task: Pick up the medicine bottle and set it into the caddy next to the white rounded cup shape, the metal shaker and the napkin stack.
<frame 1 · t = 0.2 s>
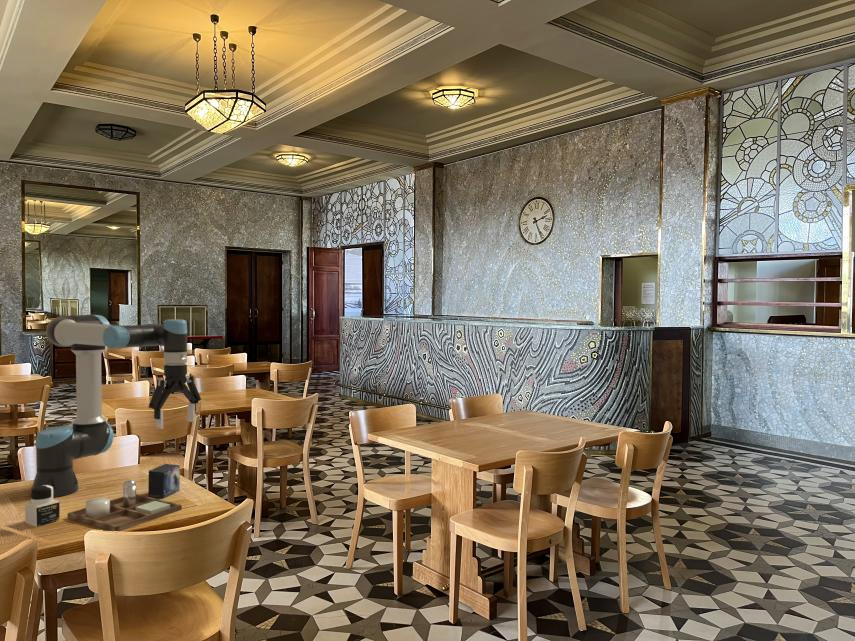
hand: (175, 425, 228), 28 cm above the table, fingers open, 13 cm apart
napkin stack: (153, 511, 219), point 1 cm above the table, touching caddy
metal shaker: (129, 505, 225), point 1 cm above the table, touching caddy
medicine bottle: (42, 524, 208), on the table
caddy: (125, 516, 217), on the table
white rounded cup shape: (97, 515, 214), point 1 cm above the table, touching caddy
small box: (164, 496, 238), on the table
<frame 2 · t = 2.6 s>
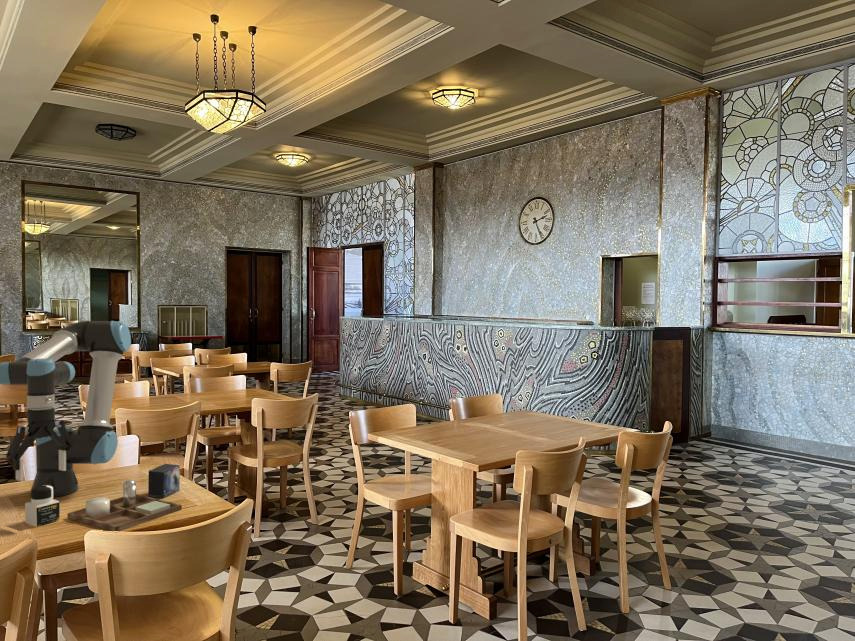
hand: (41, 475, 208), 16 cm above the table, fingers open, 13 cm apart
nothing on the table moved.
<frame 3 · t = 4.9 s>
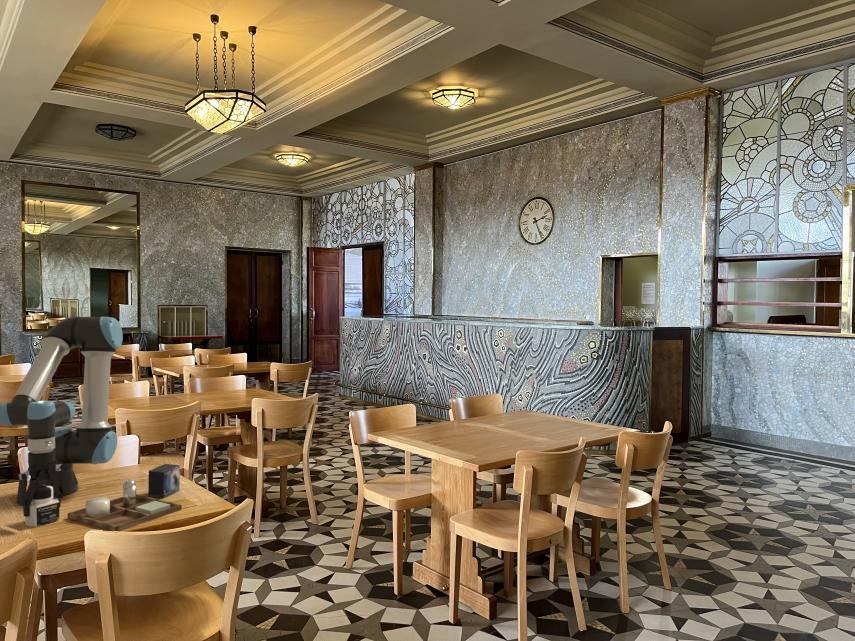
hand: (42, 522, 208), 1 cm above the table, fingers closed on medicine bottle, 7 cm apart
medicine bottle: (42, 524, 208), on the table, touching gripper
everything else where it was.
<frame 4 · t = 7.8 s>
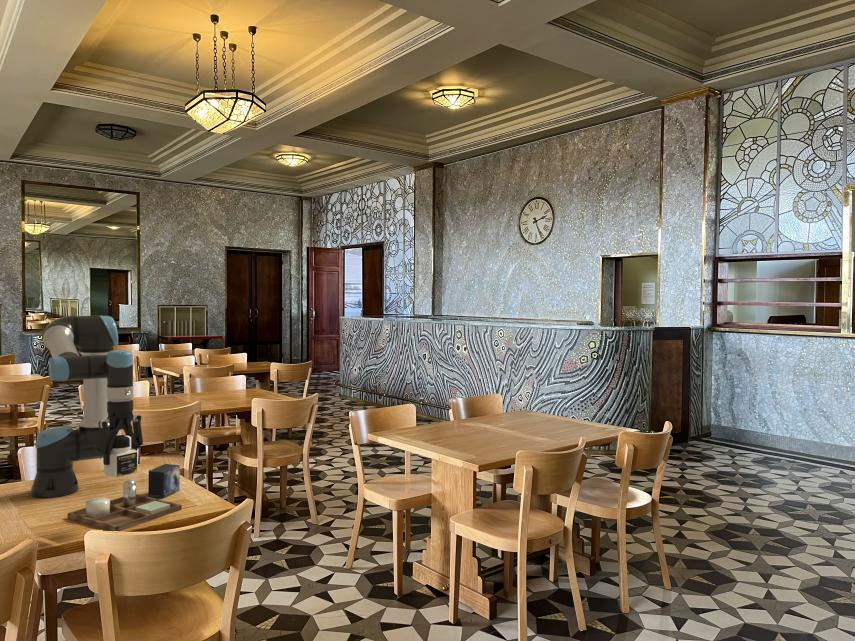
hand: (120, 471, 208), 17 cm above the table, fingers closed on medicine bottle, 7 cm apart
medicine bottle: (120, 474, 208), point 16 cm above the table, touching gripper
everything else where it was.
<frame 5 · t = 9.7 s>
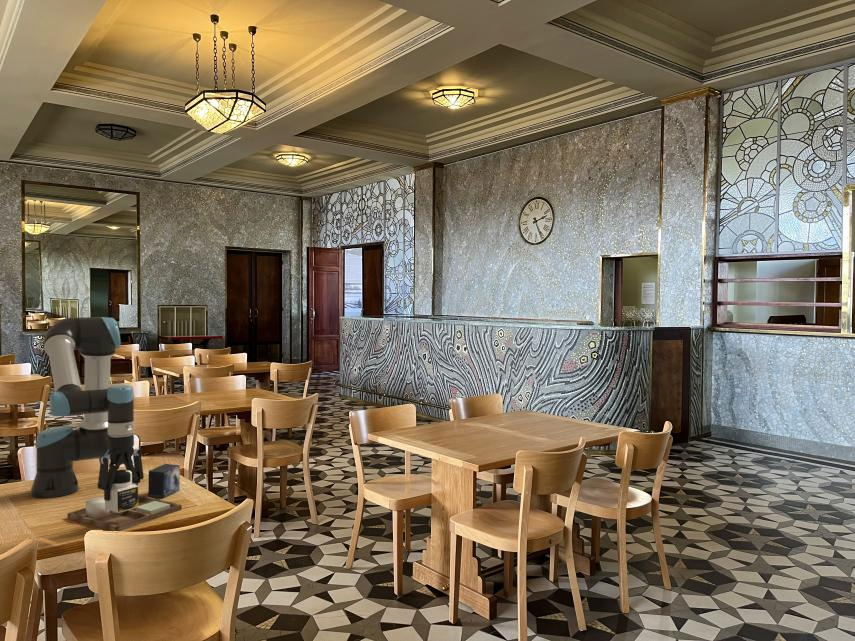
hand: (121, 506, 208), 6 cm above the table, fingers closed on medicine bottle, 7 cm apart
medicine bottle: (121, 509, 208), point 5 cm above the table, touching gripper
everything else where it was.
when the fingers open (3 cm above the table, at t = 11.1 s): medicine bottle drops 2 cm, resting on caddy.
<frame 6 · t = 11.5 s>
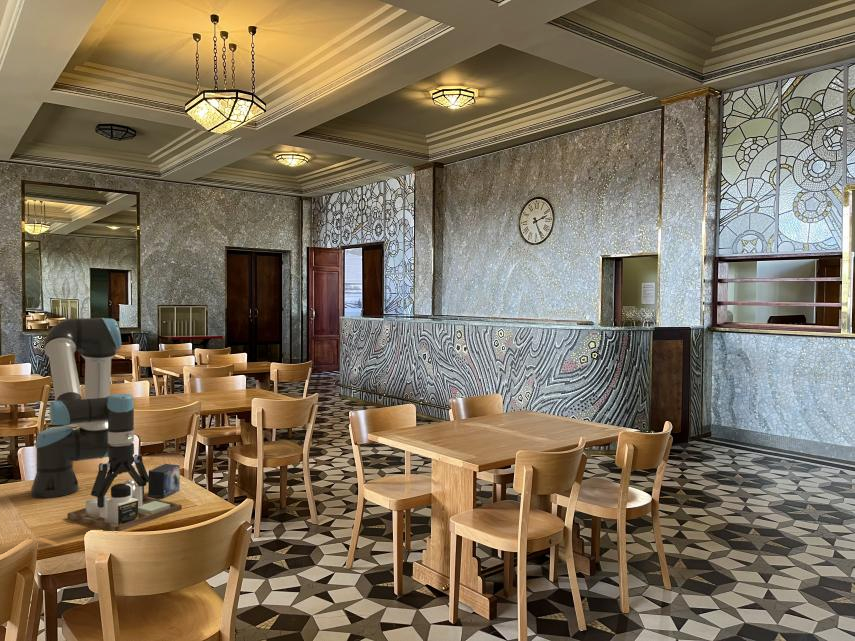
hand: (121, 511, 208), 4 cm above the table, fingers open, 12 cm apart
medicine bottle: (121, 522, 209), point 1 cm above the table, touching caddy
everything else where it was.
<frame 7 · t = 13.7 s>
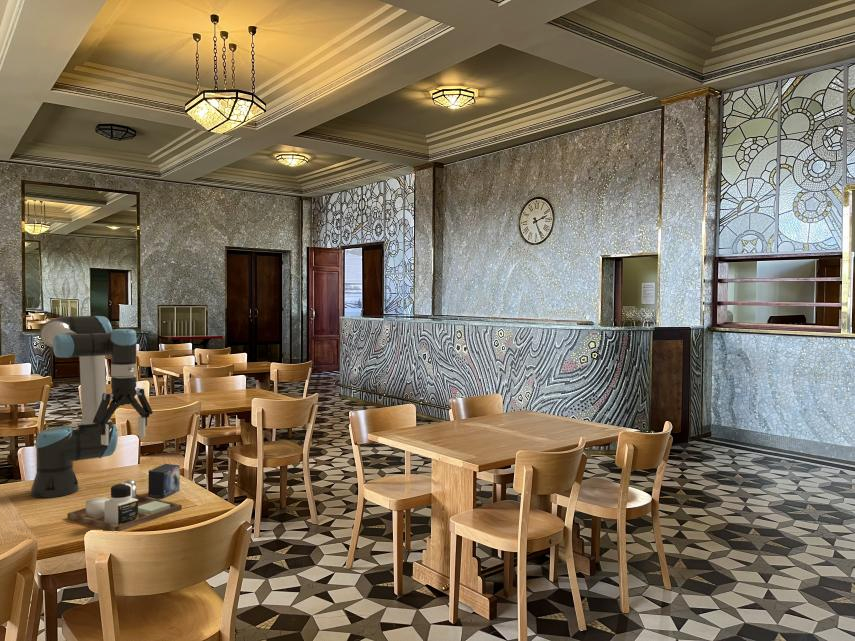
hand: (123, 440, 216), 25 cm above the table, fingers open, 13 cm apart
nothing on the table moved.
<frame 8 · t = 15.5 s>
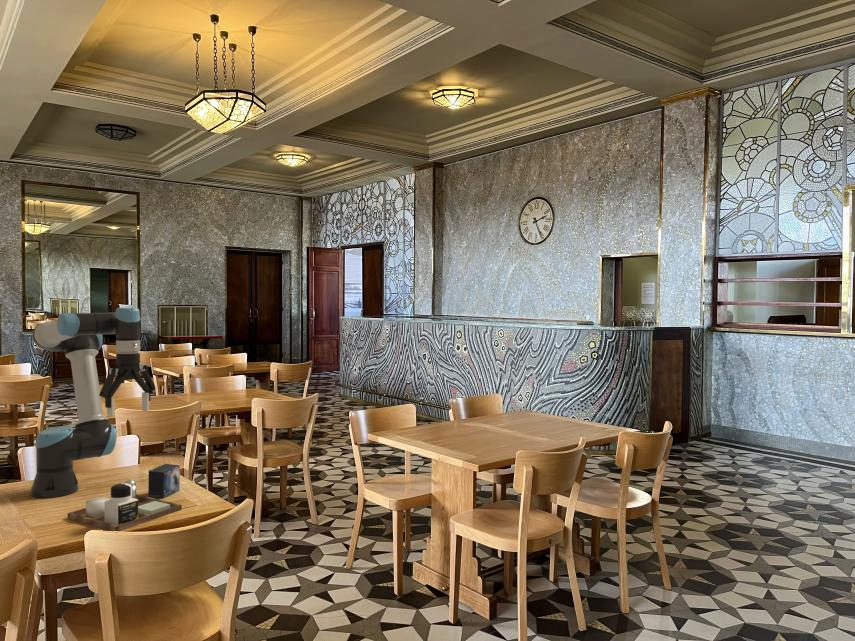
hand: (128, 414, 227), 32 cm above the table, fingers open, 13 cm apart
nothing on the table moved.
at the end: medicine bottle inside the target area on the caddy (0.1 cm from its centre), point 0.6 cm above the caddy's base; medicine bottle tilted 0°; the gripper is holding nothing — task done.
